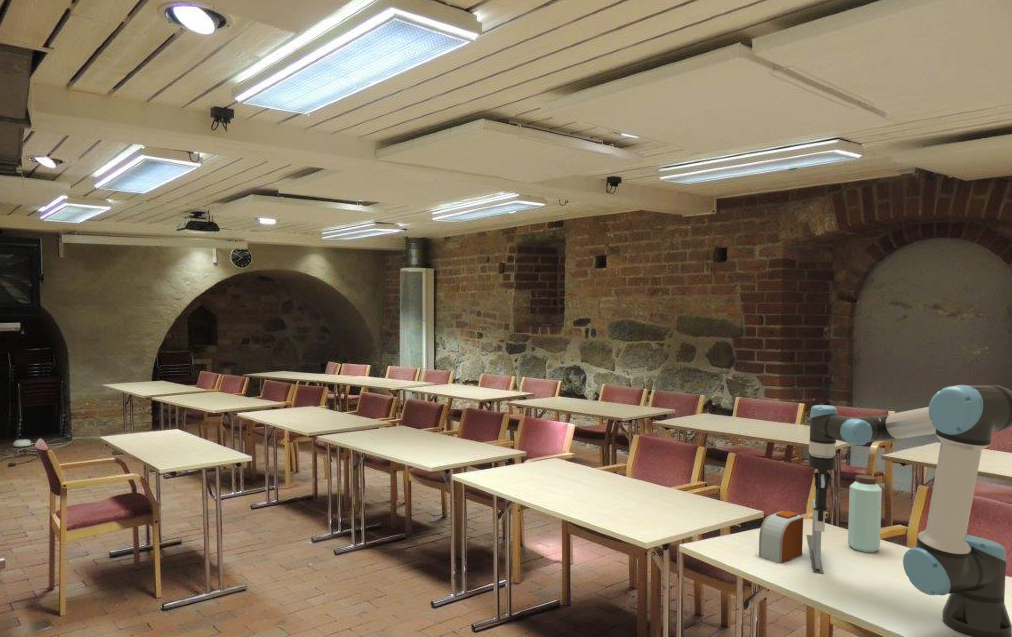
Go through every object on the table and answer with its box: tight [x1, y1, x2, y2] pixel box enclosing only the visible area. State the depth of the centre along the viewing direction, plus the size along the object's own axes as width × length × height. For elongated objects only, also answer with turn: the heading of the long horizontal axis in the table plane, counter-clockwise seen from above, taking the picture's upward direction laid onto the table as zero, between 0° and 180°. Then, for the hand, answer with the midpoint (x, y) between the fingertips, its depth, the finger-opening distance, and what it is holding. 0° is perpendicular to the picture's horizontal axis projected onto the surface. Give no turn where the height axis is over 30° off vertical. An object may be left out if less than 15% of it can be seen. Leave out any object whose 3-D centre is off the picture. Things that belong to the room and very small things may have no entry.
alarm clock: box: [758, 510, 804, 564], centre depth 235 cm, size 15×8×14 cm, turn 130°
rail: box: [806, 534, 825, 575], centre depth 237 cm, size 39×3×1 cm, turn 160°
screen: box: [811, 499, 822, 569], centre depth 231 cm, size 22×2×16 cm, turn 160°
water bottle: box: [847, 474, 883, 553], centre depth 243 cm, size 10×10×25 cm
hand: (819, 530), depth 218 cm, fingers closed
